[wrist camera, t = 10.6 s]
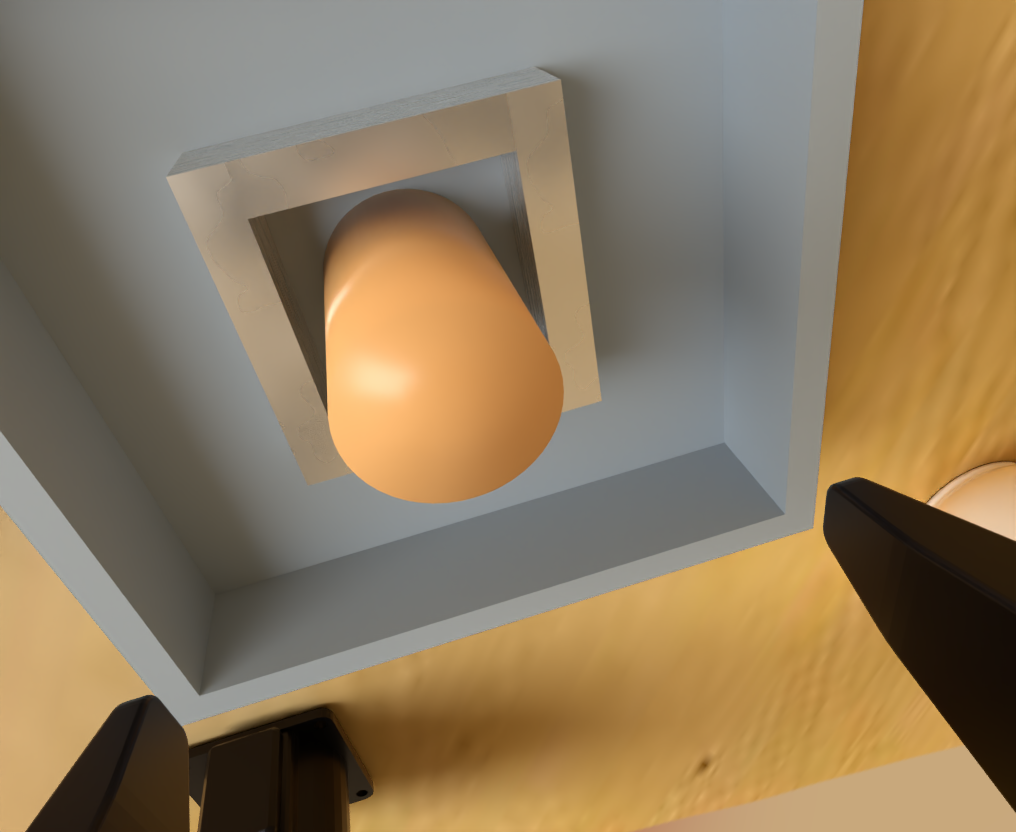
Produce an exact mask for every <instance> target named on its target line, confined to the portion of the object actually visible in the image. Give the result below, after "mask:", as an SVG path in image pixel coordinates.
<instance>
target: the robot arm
mask: <svg viewBox="0 0 1016 832" xmlns="http://www.w3.org/2000/svg"><path fill="white" fill-rule="evenodd" d="M823 532H824V536H825V539H826V542H827V544H828V546H829V548H830V549H831V551H832V553H833V554H834V556H835V558H836V559H837V561H838V563H839V564H840V566H841V568H842V569H843V571H844V573H845V574H846V576H847V578H848V579H849V581H850V582H851V584H852V586H853V587H854V589H855V591H856V592H857V594H858V596H859V597H860V599H861V601H862V602H863V604H864V606H865V607H866V609H867V611H868V612H869V614H870V616H871V617H872V619H873V621H874V622H875V624H876V626H877V627H878V629H879V630H880V632H881V633H882V635H883V636H884V638H885V640H886V641H887V643H888V644H889V645H890V647H891V648H892V650H893V651H894V652H895V654H896V655H897V656H898V658H899V659H900V661H901V662H902V663H903V664H904V666H905V667H906V668H907V670H908V671H909V672H910V674H911V675H912V676H913V678H914V679H915V680H916V682H917V683H918V684H919V686H920V687H921V688H922V690H923V691H924V692H925V694H926V695H927V696H928V697H929V699H930V700H931V701H932V703H933V704H934V705H935V707H936V708H937V709H938V711H939V712H940V713H941V715H942V716H943V717H944V719H945V720H946V721H947V723H948V724H949V725H950V727H951V728H952V729H953V731H954V732H955V733H956V734H957V736H958V737H959V738H960V740H961V741H962V742H963V744H964V745H965V746H966V748H967V749H968V750H969V752H970V753H971V754H972V756H973V757H974V758H975V759H976V761H977V762H978V763H979V765H980V766H981V767H982V769H983V770H984V771H985V773H986V774H987V775H988V777H989V778H990V779H991V781H992V782H993V783H994V785H995V786H996V787H997V789H998V790H999V791H1000V792H1001V794H1002V795H1003V797H1004V798H1005V799H1006V801H1007V802H1008V803H1009V804H1010V806H1011V807H1012V808H1013V810H1014V811H1015V812H1016V541H1015V540H1012V539H1010V538H1007V537H1005V536H1003V535H1000V534H998V533H995V532H993V531H991V530H988V529H986V528H983V527H981V526H978V525H976V524H974V523H971V522H969V521H966V520H964V519H962V518H959V517H957V516H954V515H952V514H949V513H947V512H945V511H942V510H940V509H937V508H935V507H933V506H930V505H928V504H925V503H923V502H920V501H918V500H916V499H913V498H911V497H908V496H906V495H904V494H901V493H899V492H896V491H894V490H892V489H889V488H887V487H884V486H882V485H879V484H877V483H875V482H872V481H870V480H867V479H864V478H860V477H855V478H851V479H848V480H845V481H841V482H838V483H835V484H833V485H831V486H830V487H829V489H828V490H827V495H826V505H825V514H824V523H823ZM372 794H373V782H372V780H371V778H370V776H369V774H368V773H367V771H366V769H365V767H364V766H363V764H362V762H361V760H360V759H359V757H358V755H357V754H356V752H355V750H354V748H353V747H352V745H351V743H350V741H349V740H348V738H347V736H346V734H345V733H344V731H343V729H342V727H341V726H340V724H339V722H338V721H337V719H336V717H335V715H334V714H333V712H332V711H331V710H329V709H326V708H320V709H315V710H312V711H309V712H306V713H303V714H300V715H296V716H293V717H290V718H287V719H284V720H281V721H277V722H274V723H271V724H268V725H265V726H262V727H259V728H255V729H252V730H249V731H246V732H243V733H240V734H236V735H233V736H230V737H227V738H224V739H221V740H217V741H214V742H211V743H208V744H205V745H202V746H198V747H195V748H192V749H189V748H188V740H187V736H186V733H185V731H184V729H183V728H182V726H181V725H180V724H179V722H178V721H177V720H176V719H175V718H174V716H173V715H172V714H171V713H170V711H169V710H168V709H167V708H166V707H165V705H164V704H163V703H162V702H161V700H160V699H159V698H158V697H156V696H153V695H146V696H143V697H140V698H136V699H133V700H130V701H127V702H124V703H122V704H120V705H118V706H117V707H116V708H115V709H114V710H113V711H112V712H111V714H110V715H109V717H108V718H107V719H106V721H105V722H104V723H103V725H102V726H101V728H100V729H99V730H98V732H97V733H96V735H95V736H94V737H93V739H92V740H91V741H90V743H89V744H88V746H87V747H86V748H85V750H84V751H83V753H82V754H81V755H80V757H79V758H78V759H77V761H76V762H75V764H74V765H73V766H72V768H71V769H70V771H69V772H68V773H67V775H66V776H65V777H64V779H63V780H62V782H61V783H60V784H59V786H58V787H57V789H56V790H55V791H54V793H53V794H52V795H51V797H50V798H49V800H48V801H47V802H46V804H45V805H44V807H43V808H42V809H41V811H40V812H39V813H38V815H37V816H36V818H35V819H34V820H33V822H32V823H31V825H30V826H29V827H28V829H27V830H26V831H25V832H190V823H189V795H190V796H191V797H192V798H193V800H194V801H195V802H196V803H197V804H198V805H199V806H200V807H201V809H200V816H199V824H198V831H197V832H350V812H349V804H351V803H354V802H357V801H361V800H364V799H366V798H368V797H370V796H371V795H372Z"/></svg>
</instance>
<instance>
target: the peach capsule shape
mask: <svg viewBox="0 0 1016 832" xmlns="http://www.w3.org/2000/svg"><path fill="white" fill-rule="evenodd" d="M323 277H324V308H325V340H326V371H327V403H328V421H329V428H330V433H331V436H332V439H333V442H334V445H335V447H336V449H337V451H338V452H339V454H340V456H341V458H342V459H343V460H344V462H345V463H346V465H347V466H348V467H349V468H350V469H351V470H352V471H353V472H354V473H355V474H356V475H357V476H358V477H359V478H360V479H362V480H363V481H364V482H366V483H367V484H368V485H370V486H372V487H373V488H375V489H377V490H378V491H381V492H383V493H385V494H388V495H390V496H392V497H396V498H399V499H403V500H406V501H412V502H418V503H431V504H435V503H451V502H458V501H463V500H467V499H472V498H475V497H478V496H481V495H484V494H487V493H489V492H491V491H493V490H496V489H498V488H500V487H502V486H503V485H505V484H507V483H508V482H510V481H512V480H513V479H515V478H516V477H517V476H519V475H520V474H521V473H523V472H524V471H525V470H526V469H527V468H528V467H529V466H530V465H531V464H532V463H534V462H535V460H536V459H537V458H538V457H539V456H540V455H541V453H542V452H543V451H544V449H545V448H546V446H547V445H548V443H549V442H550V440H551V438H552V436H553V434H554V432H555V430H556V428H557V425H558V422H559V420H560V417H561V412H562V407H563V398H564V386H563V377H562V373H561V369H560V365H559V363H558V361H557V358H556V356H555V353H554V352H553V350H552V349H551V347H550V345H549V344H548V342H547V340H546V339H545V337H544V335H543V334H542V332H541V330H540V329H539V327H538V325H537V324H536V322H535V321H534V319H533V317H532V316H531V314H530V312H529V311H528V309H527V307H526V306H525V304H524V302H523V301H522V299H521V298H520V296H519V294H518V293H517V291H516V289H515V288H514V286H513V284H512V283H511V281H510V279H509V278H508V276H507V274H506V273H505V271H504V270H503V268H502V266H501V265H500V263H499V261H498V260H497V258H496V256H495V255H494V253H493V251H492V250H491V248H490V247H489V245H488V243H487V242H486V240H485V238H484V237H483V235H482V233H481V232H480V230H479V228H478V227H477V225H476V224H475V222H474V221H473V220H472V219H471V217H470V216H469V215H468V214H467V213H466V212H465V211H464V210H463V209H462V208H461V207H459V206H458V205H456V204H455V203H453V202H452V201H450V200H448V199H446V198H445V197H443V196H440V195H437V194H435V193H432V192H428V191H423V190H417V189H396V190H391V191H386V192H382V193H379V194H376V195H374V196H372V197H370V198H368V199H365V200H364V201H362V202H361V203H359V204H358V205H356V206H355V207H353V208H352V209H351V210H350V211H349V212H348V213H347V214H346V215H345V216H344V217H343V218H342V219H341V220H340V222H339V223H338V224H337V226H336V227H335V229H334V231H333V232H332V234H331V237H330V239H329V241H328V244H327V247H326V251H325V256H324V263H323Z"/></svg>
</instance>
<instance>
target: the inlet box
mask: <svg viewBox="0 0 1016 832" xmlns="http://www.w3.org/2000/svg"><path fill="white" fill-rule="evenodd" d="M863 4H864V0H0V506H1V507H2V508H3V509H4V511H5V512H6V513H7V514H8V516H9V517H10V518H11V519H12V520H13V522H14V523H15V524H16V525H17V527H18V528H19V529H20V530H21V532H22V533H23V534H24V535H25V536H26V538H27V539H28V540H29V541H30V543H31V544H32V545H33V546H34V547H35V549H36V550H37V551H38V552H39V554H40V555H41V556H42V557H43V559H44V560H45V561H46V562H47V563H48V565H49V566H50V567H51V568H52V570H53V571H54V572H55V573H56V575H57V576H58V577H59V578H60V579H61V581H62V582H63V583H64V584H65V586H66V587H67V588H68V589H69V590H70V592H71V593H72V594H73V595H74V597H75V598H76V599H77V600H78V602H79V603H80V604H81V605H82V606H83V608H84V609H85V610H86V611H87V613H88V614H89V615H90V616H91V618H92V619H93V620H94V621H95V622H96V624H97V625H98V626H99V627H100V629H101V630H102V631H103V632H104V633H105V635H106V636H107V637H108V638H109V640H110V641H111V642H112V643H113V645H114V646H115V647H116V648H117V649H118V651H119V652H120V653H121V654H122V656H123V657H124V658H125V659H126V661H127V662H128V663H129V664H130V665H131V667H132V668H133V669H134V670H135V672H136V673H137V674H138V675H139V676H140V678H141V679H142V680H143V681H144V683H145V684H146V685H147V686H148V688H149V689H150V690H151V691H152V692H153V694H154V695H155V696H156V697H158V698H159V699H160V700H161V702H162V703H163V704H164V705H165V707H166V708H167V709H168V710H169V711H170V713H171V714H172V715H173V716H174V718H175V719H176V720H177V721H178V722H179V724H180V725H181V726H183V725H186V724H189V723H192V722H196V721H199V720H202V719H205V718H208V717H212V716H215V715H218V714H221V713H224V712H228V711H231V710H234V709H237V708H240V707H244V706H247V705H250V704H253V703H256V702H260V701H263V700H266V699H269V698H272V697H275V696H279V695H282V694H285V693H288V692H291V691H295V690H298V689H301V688H304V687H307V686H311V685H314V684H317V683H320V682H323V681H327V680H330V679H333V678H336V677H339V676H343V675H346V674H349V673H352V672H355V671H358V670H362V669H365V668H368V667H371V666H374V665H378V664H381V663H384V662H387V661H390V660H394V659H397V658H400V657H403V656H406V655H410V654H413V653H416V652H419V651H422V650H426V649H429V648H432V647H435V646H438V645H441V644H445V643H448V642H451V641H454V640H457V639H461V638H464V637H467V636H470V635H473V634H477V633H480V632H483V631H486V630H489V629H493V628H496V627H499V626H502V625H505V624H509V623H512V622H515V621H518V620H521V619H524V618H528V617H531V616H534V615H537V614H540V613H544V612H547V611H550V610H553V609H556V608H560V607H563V606H566V605H569V604H572V603H576V602H579V601H582V600H585V599H588V598H592V597H595V596H598V595H601V594H604V593H607V592H611V591H614V590H617V589H620V588H623V587H627V586H630V585H633V584H636V583H639V582H643V581H646V580H649V579H652V578H655V577H659V576H662V575H665V574H668V573H671V572H675V571H678V570H681V569H684V568H687V567H690V566H694V565H697V564H700V563H703V562H706V561H710V560H713V559H716V558H719V557H722V556H726V555H729V554H732V553H735V552H738V551H742V550H745V549H748V548H751V547H754V546H758V545H761V544H764V543H767V542H770V541H773V540H777V539H780V538H783V537H786V536H789V535H793V534H796V533H799V532H802V531H805V530H809V529H812V528H813V524H814V513H815V503H816V493H817V482H818V472H819V461H820V451H821V441H822V430H823V420H824V410H825V399H826V389H827V378H828V368H829V358H830V347H831V337H832V326H833V316H834V306H835V295H836V285H837V274H838V264H839V254H840V243H841V233H842V223H843V212H844V202H845V191H846V181H847V171H848V160H849V150H850V139H851V129H852V119H853V108H854V98H855V87H856V77H857V67H858V56H859V46H860V36H861V25H862V15H863ZM396 189H417V190H423V191H428V192H432V193H435V194H437V195H440V196H443V197H445V198H446V199H448V200H450V201H452V202H453V203H455V204H456V205H458V206H459V207H461V208H462V209H463V210H464V211H465V212H466V213H467V214H468V215H469V216H470V217H471V219H472V220H473V221H474V222H475V224H476V225H477V227H478V228H479V230H480V232H481V233H482V235H483V237H484V238H485V240H486V242H487V243H488V245H489V247H490V248H491V250H492V251H493V253H494V255H495V256H496V258H497V260H498V261H499V263H500V265H501V266H502V268H503V270H504V271H505V273H506V274H507V276H508V278H509V279H510V281H511V283H512V284H513V286H514V288H515V289H516V291H517V293H518V294H519V296H520V298H521V299H522V301H523V302H524V304H525V306H526V307H527V309H528V311H529V312H530V314H531V316H532V317H533V319H534V321H535V322H536V324H537V325H538V327H539V329H540V330H541V332H542V334H543V335H544V337H545V339H546V340H547V342H548V344H549V345H550V347H551V349H552V350H553V352H554V353H555V356H556V358H557V361H558V363H559V365H560V369H561V373H562V377H563V386H564V398H563V407H562V412H561V417H560V420H559V422H558V425H557V428H556V430H555V432H554V434H553V436H552V438H551V440H550V442H549V443H548V445H547V446H546V448H545V449H544V451H543V452H542V453H541V455H540V456H539V457H538V458H537V459H536V460H535V462H534V463H532V464H531V465H530V466H529V467H528V468H527V469H526V470H525V471H524V472H523V473H521V474H520V475H519V476H517V477H516V478H515V479H513V480H512V481H510V482H508V483H507V484H505V485H503V486H502V487H500V488H498V489H496V490H493V491H491V492H489V493H487V494H484V495H481V496H478V497H475V498H472V499H467V500H463V501H458V502H451V503H435V504H431V503H418V502H412V501H406V500H403V499H399V498H396V497H392V496H390V495H388V494H385V493H383V492H381V491H378V490H377V489H375V488H373V487H372V486H370V485H368V484H367V483H366V482H364V481H363V480H362V479H360V478H359V477H358V476H357V475H356V474H355V473H354V472H353V471H352V470H351V469H350V468H349V467H348V466H347V465H346V463H345V462H344V460H343V459H342V458H341V456H340V454H339V452H338V451H337V449H336V447H335V445H334V442H333V439H332V436H331V433H330V428H329V421H328V403H327V371H326V340H325V308H324V277H323V263H324V256H325V251H326V247H327V244H328V241H329V239H330V237H331V234H332V232H333V231H334V229H335V227H336V226H337V224H338V223H339V222H340V220H341V219H342V218H343V217H344V216H345V215H346V214H347V213H348V212H349V211H350V210H351V209H352V208H353V207H355V206H356V205H358V204H359V203H361V202H362V201H364V200H365V199H368V198H370V197H372V196H374V195H376V194H379V193H382V192H386V191H391V190H396Z"/></svg>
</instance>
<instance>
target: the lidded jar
mask: <svg viewBox="0 0 1016 832" xmlns="http://www.w3.org/2000/svg"><path fill="white" fill-rule="evenodd" d="M926 504H928V505H930V506H933V507H935V508H937V509H940V510H942V511H945V512H947V513H949V514H952V515H954V516H957V517H959V518H962V519H964V520H966V521H969V522H971V523H974V524H976V525H978V526H981V527H983V528H986V529H988V530H991V531H993V532H995V533H998V534H1000V535H1003V536H1005V537H1007V538H1010V539H1012V540H1015V541H1016V463H1015V462H994V463H989V464H986V465H982V466H980V467H977V468H975V469H972V470H970V471H968V472H966V473H964V474H962V475H960V476H959V477H957V478H955V479H954V480H952V481H951V482H949V483H948V484H947V485H945V486H944V487H943V488H941V489H940V490H939V491H938V492H937V493H936V494H935V495H934V496H933V497H931V499H930V500H929V501H928V502H927V503H926Z"/></svg>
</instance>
